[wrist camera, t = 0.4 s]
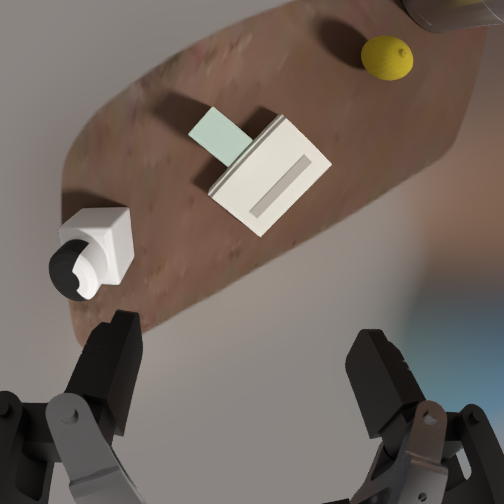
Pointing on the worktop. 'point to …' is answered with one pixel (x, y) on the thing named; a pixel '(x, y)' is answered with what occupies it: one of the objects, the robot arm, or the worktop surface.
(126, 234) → the medicine bottle
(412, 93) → the worktop surface
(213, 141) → the pale green block
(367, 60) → the lemon
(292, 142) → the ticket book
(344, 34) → the worktop surface
